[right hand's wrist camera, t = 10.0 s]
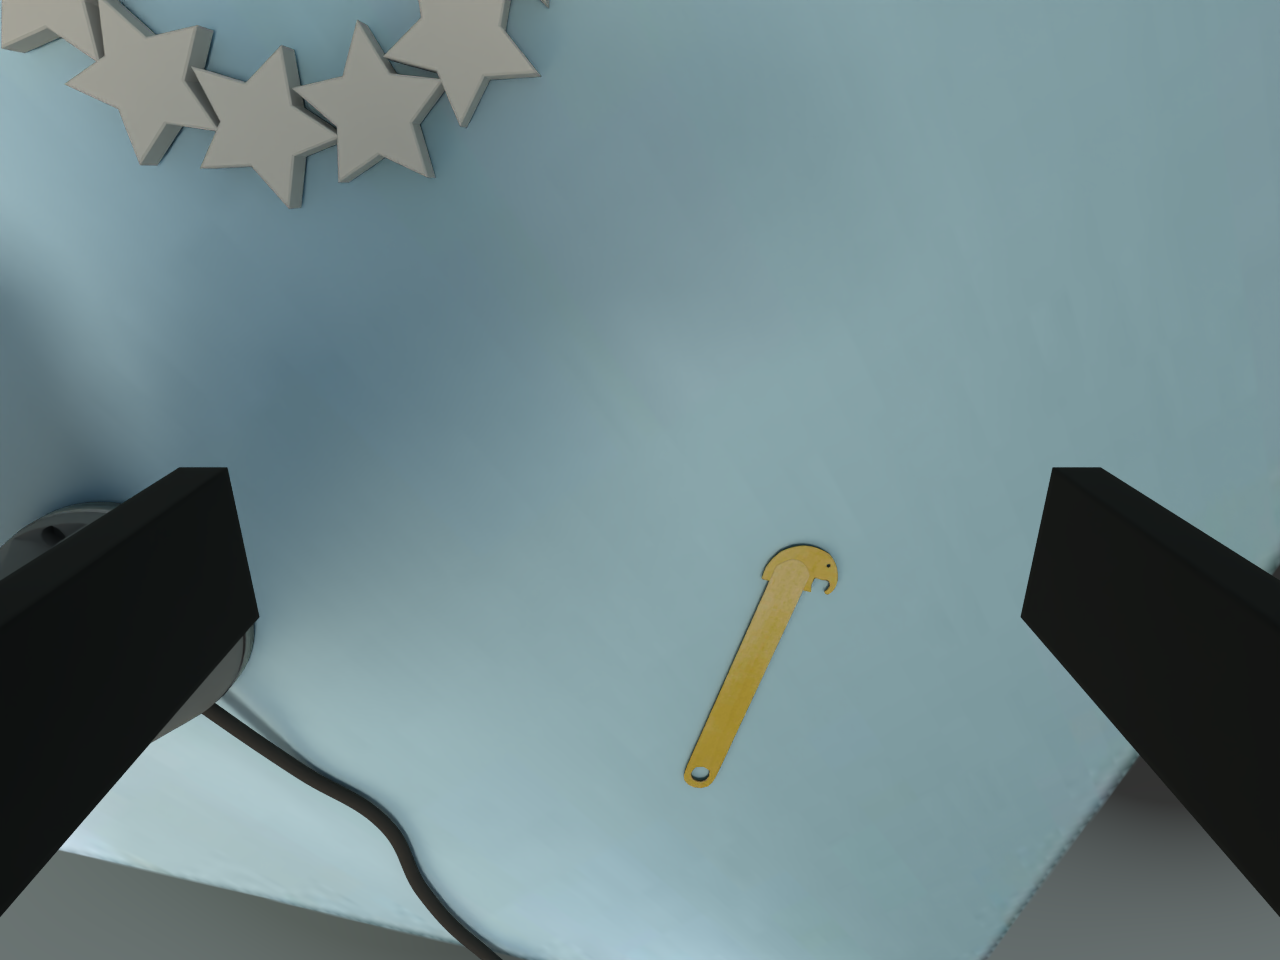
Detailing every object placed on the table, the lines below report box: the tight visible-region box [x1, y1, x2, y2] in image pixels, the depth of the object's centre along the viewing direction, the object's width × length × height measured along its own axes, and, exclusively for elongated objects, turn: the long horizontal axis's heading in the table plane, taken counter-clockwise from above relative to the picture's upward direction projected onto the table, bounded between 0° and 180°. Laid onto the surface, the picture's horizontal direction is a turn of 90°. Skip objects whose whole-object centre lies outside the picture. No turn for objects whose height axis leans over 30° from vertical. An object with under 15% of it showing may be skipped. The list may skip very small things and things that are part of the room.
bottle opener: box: [684, 545, 838, 788], centre depth 50 cm, size 5×1×20 cm
